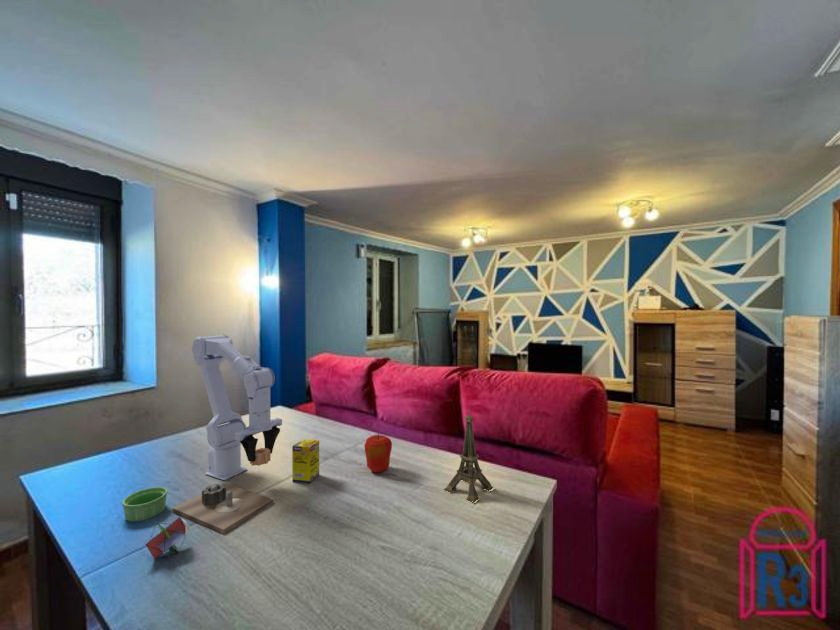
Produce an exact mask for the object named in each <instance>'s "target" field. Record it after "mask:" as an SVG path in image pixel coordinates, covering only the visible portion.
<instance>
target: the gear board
mask: <svg viewBox="0 0 840 630" xmlns="http://www.w3.org/2000/svg"><path fill="white" fill-rule="evenodd" d="M273 504H274V499H273V498H271V497H268V496H265V495H262V494H259V493H255V492H253V491H249V490H247V489H244V488H241V487H237V486H234V485H232V484H228V483H226V482H224V483H221V484H220V483H215V484H212V485H208V486H206V487H205V488H203V489H202V490H201V494H198V495H197V496H195V497H192V498H191V499H188V500H187V501H186V500H185V501H184V502H182V503H180V504H178V505H176V506H174V507H172V508H171V511H172V513H174V514H177V515H179V516H180V517H184V518H186V519H188V520H190V521H192V522H194V523H197V524H199V525H201V526H205V527H207V528H209V529H211V530H213V531H216V532H217V533H221V534H222V535H224V534H225V533H227V532H230V531H231V530H232V529H234V528H236V527H237V526H239V525H240V524H242V523H243V522H245V521H247V520H248V519H250V518H251V517H253V516H255V515H257V514H258V513H260V512H262V511H263V510H264V509H266V508H268V507H269V506H271V505H273Z"/></svg>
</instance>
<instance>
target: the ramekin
mask: <svg viewBox="0 0 840 630" xmlns="http://www.w3.org/2000/svg"><path fill="white" fill-rule="evenodd" d="M168 492H169V491H168V489H167V487H163V486H154V487H153V486H152V487H148V488H144V489H141V490H138V491H137V490H136V492H133V493H131V494H129V495H127V496H126V497H124V499H123V500H122V506H123V511H124V518H125V520H126V521H128V522H140V521H145V519H146V520H149V519H151V518H154V517H156V516H158V515H160V514H161V513H162V512H163V511H164V510H165V509H166V505H167V504H166V503H167V495H168Z"/></svg>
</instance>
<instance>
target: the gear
mask: <svg viewBox="0 0 840 630" xmlns="http://www.w3.org/2000/svg"><path fill="white" fill-rule="evenodd" d="M271 454H272V453H271ZM271 454H270V450H269V448H265V447H259V448H256V454H255V461H254V462H251V461H249V464H250V465H251V466H252V467H253V466H259V467H260V466H262V465H267V464H269V462H271V457H272V455H271Z"/></svg>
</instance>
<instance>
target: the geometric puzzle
mask: <svg viewBox="0 0 840 630" xmlns="http://www.w3.org/2000/svg"><path fill="white" fill-rule="evenodd" d="M173 519H175V520H174V521H173V522H172V523H169V524H168V525H167V526H166V527H163V526H162V525H161V524H164V525H166V524H167V523H166V522H165V523H163V522H161V524H160V523H159V522H155V525H154V527H153V530H152V533H151V536H153V533H154V531H155V529H156V526H158V528H159V530H160V532H159V533H158V534H156V535H155V536H154V537H152V538H149V541H147V542H146V543H145V546H146V548H147V550H148V551H149V552H150V554H151V555H152V557H153V558H154V559H153V560H157V559H158V558H160V557H161V555H162V554H165V553H168V554H167V555H166V557H168V556H169V553H170V551H168V550H169V549H171V548H172V547H173V548H172V549H174V550H175V549H176V550H177V551H178V552H179V553H180V550H182V546H183V544H184V541H185V540H182V543H181V546H180V549H178V548H177V546H176V543H177V542H179V541H180V540H181V539H183V538H186V536H187V535H188V533H190V532H191V529H190V524H189V523H188V522H187V521H186V520H185V519H184V518H182V516H179V517H177V518H176V517H175V518H173ZM171 520H172V519H169V521H171ZM171 546H172V547H171ZM176 550H175V551H176ZM177 551H176V552H177ZM178 552H177V553H178ZM163 557H165V555H164V556H163ZM156 558H157V559H156Z"/></svg>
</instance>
